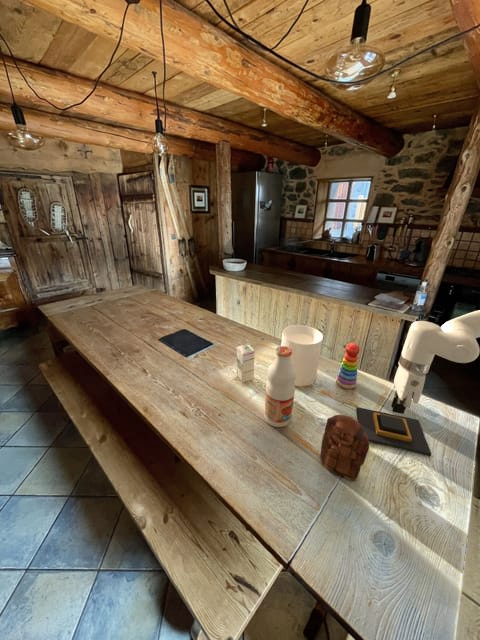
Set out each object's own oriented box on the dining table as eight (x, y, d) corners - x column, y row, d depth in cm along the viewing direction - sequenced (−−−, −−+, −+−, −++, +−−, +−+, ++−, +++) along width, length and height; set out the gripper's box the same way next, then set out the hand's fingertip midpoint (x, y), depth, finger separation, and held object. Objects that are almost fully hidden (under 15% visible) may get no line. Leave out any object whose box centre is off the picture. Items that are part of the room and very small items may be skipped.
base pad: (417, 421, 92) (419, 416, 91) (430, 456, 80) (433, 450, 79) (356, 408, 98) (357, 403, 97) (359, 439, 86) (361, 433, 84)
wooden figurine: (314, 464, 78) (323, 418, 70) (321, 448, 82) (330, 404, 75) (356, 486, 72) (372, 440, 64) (361, 468, 77) (376, 422, 69)
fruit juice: (267, 404, 99) (272, 339, 87) (292, 411, 96) (301, 345, 84) (260, 423, 91) (265, 354, 79) (288, 431, 88) (297, 361, 76)
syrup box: (254, 379, 112) (255, 350, 106) (242, 383, 110) (242, 353, 104) (248, 371, 117) (249, 343, 110) (236, 375, 114) (236, 346, 108)
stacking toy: (357, 381, 112) (367, 343, 103) (353, 392, 106) (363, 352, 97) (338, 375, 115) (346, 337, 107) (333, 385, 109) (341, 346, 101)
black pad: (400, 424, 90) (402, 418, 89) (404, 437, 85) (406, 431, 84) (377, 419, 92) (379, 413, 91) (380, 431, 87) (382, 426, 86)
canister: (292, 390, 106) (298, 348, 97) (271, 368, 119) (274, 329, 110) (324, 380, 112) (331, 339, 103) (300, 360, 125) (306, 322, 116)
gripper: (438, 381, 69) (417, 431, 77) (421, 351, 83) (404, 396, 91) (406, 376, 71) (388, 425, 79) (394, 347, 85) (380, 392, 93)
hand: (397, 409), depth 85 cm, fingers closed
